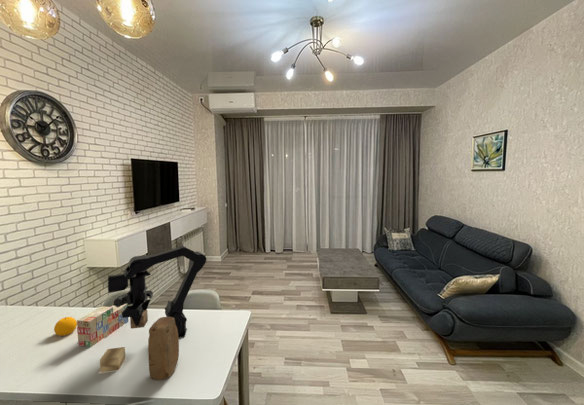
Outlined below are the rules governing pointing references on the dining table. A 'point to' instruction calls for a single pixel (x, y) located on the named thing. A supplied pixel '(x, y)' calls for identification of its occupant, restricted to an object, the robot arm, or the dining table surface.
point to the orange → (65, 326)
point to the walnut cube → (142, 321)
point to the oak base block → (112, 359)
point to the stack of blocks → (99, 324)
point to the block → (163, 348)
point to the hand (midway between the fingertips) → (139, 322)
